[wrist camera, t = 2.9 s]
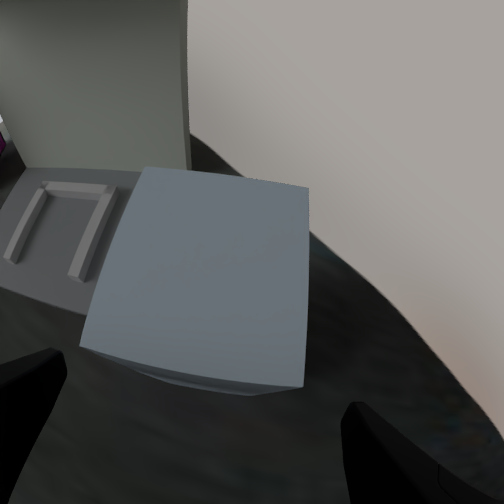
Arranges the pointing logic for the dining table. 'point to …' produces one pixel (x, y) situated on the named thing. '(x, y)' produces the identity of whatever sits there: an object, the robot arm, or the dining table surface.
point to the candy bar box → (2, 143)
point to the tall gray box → (207, 283)
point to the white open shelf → (84, 131)
